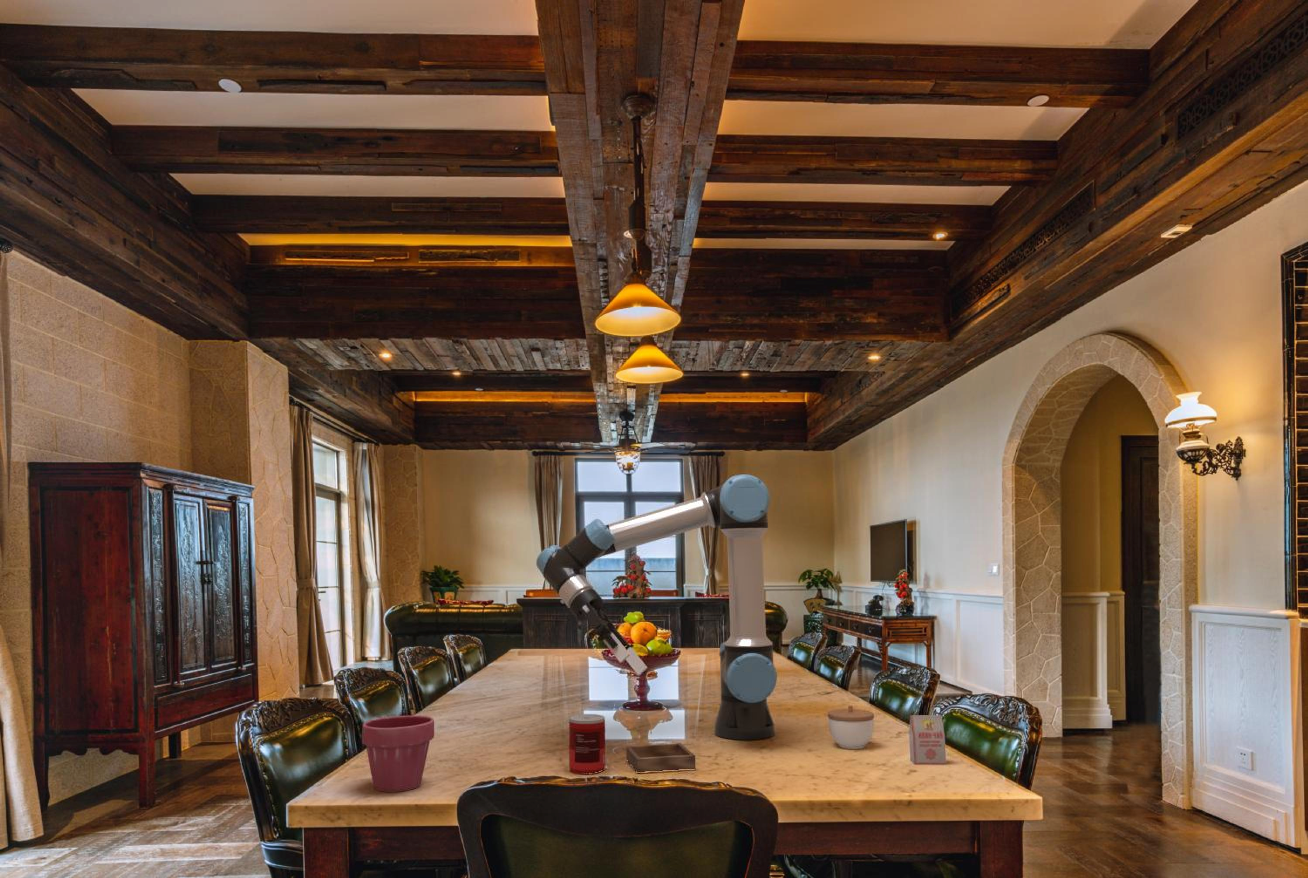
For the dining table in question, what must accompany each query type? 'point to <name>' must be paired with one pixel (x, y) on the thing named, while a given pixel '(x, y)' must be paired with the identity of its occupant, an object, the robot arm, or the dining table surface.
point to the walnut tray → (660, 757)
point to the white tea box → (927, 740)
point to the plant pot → (397, 750)
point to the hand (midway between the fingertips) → (634, 665)
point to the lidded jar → (851, 727)
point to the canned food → (587, 743)
